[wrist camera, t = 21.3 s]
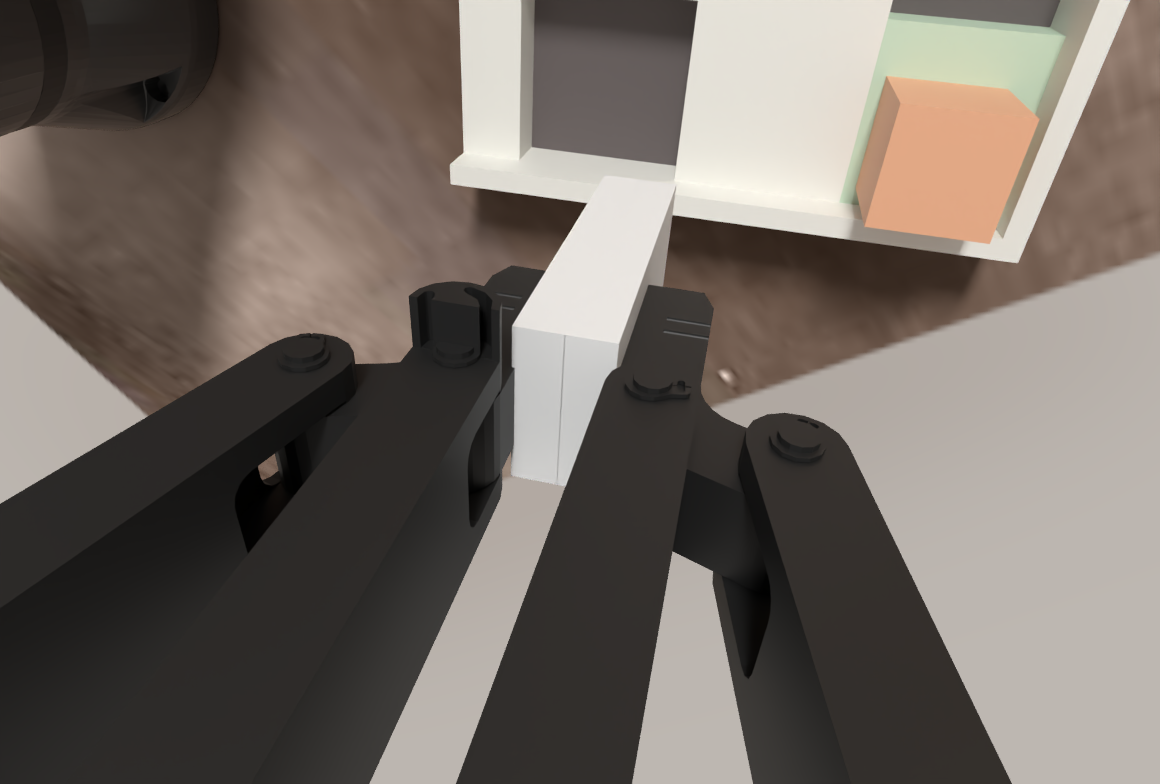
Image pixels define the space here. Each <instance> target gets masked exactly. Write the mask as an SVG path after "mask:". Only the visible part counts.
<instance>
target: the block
mask: <svg viewBox="0 0 1160 784" xmlns="http://www.w3.org/2000/svg"><path fill="white" fill-rule="evenodd" d="M1039 120H1040V119H1039V118H1038V117H1037V116H1036V115H1035V114H1034V113H1033V112H1032V111H1031V110H1030V109H1028V108H1027V107H1026V106H1025V105H1024V104H1023V103H1022V102H1021V101H1020V100H1019V99H1018V98H1017V97H1016V96H1015V95H1014V94H1013V93H1012V92H1010V91H1009V90H1008V89H1003V88H994V87H984V86H975V85H966V84H957V83H948V82H938V81H929V80H920V79H911V78H902V77H892V76H886V79H885V83H884V86H883V90H882V94H881V97H880V101H879V105H878V108H877V112H876V115H875V119H874V123H873V126H872V130H871V133H870V137H869V141H868V144H867V148H866V151H865V155H864V159H863V162H862V166H861V170H860V173H859V177H858V180H857V184H856V192H857V196H858V201H859V205H860V210H861V214H862V219H863V223H864V227H870V228H877V229H884V230H891V231H899V232H906V233H913V234H920V235H928V236H935V237H942V238H949V239H957V240H964V241H971V242H978V243H986V244H990V242H991V240H992V237H993V235H994V232H995V230H996V227H997V225H998V222H999V220H1000V217H1001V215H1002V212H1003V210H1004V207H1005V205H1006V202H1007V200H1008V197H1009V195H1010V192H1011V190H1012V187H1013V185H1014V182H1015V180H1016V177H1017V175H1018V172H1019V170H1020V167H1021V165H1022V162H1023V160H1024V157H1025V155H1026V152H1027V150H1028V147H1029V145H1030V142H1031V140H1032V137H1033V135H1034V132H1035V130H1036V127H1037V125H1038V122H1039Z"/></svg>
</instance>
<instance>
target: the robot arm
mask: <svg viewBox="0 0 1160 784" xmlns="http://www.w3.org/2000/svg"><path fill="white" fill-rule="evenodd" d="M217 43H218V12H217V3H216V0H0V136H3V135H6V134H8V133H11V132H14V131H17V130H20V129H24V128H27V127H30V126H47V127H63V128H78V129H93V130H109V131H120V130H130V129H136V128H140V127H144V126H147V125H150V124H152V123H155V122H158V121H160V120H163V119H165V118H168V117H170V116H173V115H175V114H177V113H179V112H180V111H182V110H183V109H185V108H186V107H187V106H189V105H190V104H191V103H192V102H193V101H194V100H195V99H196V97H197V96H198V95H199V94H200V92H201V91H202V89H203V88H204V86H205V84H206V83H207V80H208V78H209V76H210V74H211V71H212V68H213V65H214V61H215V57H216V51H217ZM676 185H677V184H669V183H662V182H654V181H647V180H639V179H632V178H624V177H617V176H609V175H605V176H604V177H603V179H602V181H601V182H600V184H599V186H598V187H597V189H596V190H595V192H594V194H593V195H592V197H591V199H590V200H589V202H588V203H587V205H586V207H585V208H584V210H583V212H582V213H581V215H580V216H579V218H578V220H577V221H576V223H575V225H574V226H573V228H572V229H571V231H570V233H569V234H568V236H567V237H566V239H565V241H564V242H563V244H562V246H561V247H560V249H559V250H558V252H557V254H556V255H555V257H554V259H553V260H552V262H551V263H550V265H549V267H548V268H547V270H546V271H544V270H537V269H531V268H524V267H518V266H510V267H508V268H506V269H504V270H502V271H501V272H499V273H497V274H495V275H493V276H492V277H491V278H490V279H489V281H488V282H487V283H486V285H485V286H481V285H477V284H473V283H468V282H444V283H435V284H432V285H429V286H426V287H423V288H420V289H418V290H417V291H415V292H414V293H412V294H411V295H409V305H410V317H411V329H412V342H413V347H412V348H411V350H410V351H409V352H408V353H407V355H406V356H405V357H404V358H403V360H402V361H401V362H399V363H387V364H355V359H354V352H353V350H352V348H351V347H350V345H349V343H347V342H345V341H343V340H342V339H340V338H338V337H334V336H329V335H324V334H316V333H313V334H311V333H307V334H299V335H297V336H292V337H287V338H284V339H281V340H279V341H277V342H274V343H272V344H270V345H268V346H266V347H265V348H263V349H261V350H260V351H258V352H256V353H255V354H253V355H251V356H249V357H248V358H246V359H244V360H243V361H241V362H239V363H238V364H236V365H234V366H233V367H231V368H229V369H227V370H226V371H224V372H222V373H221V374H219V375H217V376H216V377H214V378H212V379H211V380H209V381H207V382H205V383H204V384H202V385H200V386H199V387H197V388H195V389H194V390H192V391H190V392H189V393H187V394H185V395H183V396H182V397H180V398H178V399H177V400H175V401H173V402H172V403H170V404H168V405H167V406H165V407H163V408H162V409H160V410H158V411H156V412H155V413H153V414H151V415H150V416H148V417H146V418H145V419H143V420H141V421H140V422H138V423H136V424H135V425H133V426H131V427H130V428H128V429H126V430H124V431H123V432H121V433H119V434H118V435H116V436H115V437H112V438H111V439H109V440H107V441H106V442H104V443H102V444H101V445H99V446H97V447H96V448H94V449H92V450H91V451H89V452H87V453H85V454H84V455H82V456H80V457H79V458H77V459H75V460H74V461H72V462H70V463H69V464H67V465H65V466H64V467H62V468H60V469H59V470H57V471H55V472H53V473H52V474H50V475H48V476H47V477H45V478H43V479H41V480H40V481H38V482H36V483H35V484H33V485H31V486H30V487H28V488H26V489H25V490H23V491H21V492H19V493H18V494H16V495H14V496H13V497H11V498H9V499H8V500H6V501H4V502H3V503H1V504H0V784H369V783H370V781H371V779H372V777H373V774H374V772H375V770H376V767H377V765H378V764H379V761H380V759H381V757H382V755H383V752H384V750H385V748H386V746H387V744H388V742H389V740H390V737H391V735H392V733H393V731H394V729H395V726H396V724H397V722H398V720H399V718H400V715H401V713H402V711H403V709H404V707H405V705H406V702H407V700H408V698H409V696H410V694H411V692H412V689H413V687H414V685H415V683H416V681H417V679H418V676H419V674H420V672H421V670H422V668H423V665H424V663H425V661H426V659H427V656H428V655H429V652H430V650H431V648H432V646H433V644H434V641H435V639H436V637H437V635H438V633H439V631H440V628H441V626H442V624H443V622H444V620H445V617H446V615H447V613H448V611H449V609H450V607H451V604H452V602H453V600H454V598H455V596H456V594H457V591H458V589H459V587H460V585H461V583H462V580H463V578H464V576H465V574H466V572H467V569H468V567H469V565H470V563H471V561H472V559H473V556H474V554H475V552H476V550H477V548H478V546H479V543H480V541H481V539H482V537H483V535H484V532H485V530H486V528H487V526H488V523H489V522H490V519H491V517H492V515H493V513H494V511H495V509H496V506H497V504H498V502H499V500H500V497H501V491H502V469H503V466H504V464H505V462H506V460H507V458H508V456H509V454H510V452H511V476H515V477H520V478H525V479H530V480H536V481H540V482H546V483H551V484H556V485H561V486H566V487H565V490H564V493H563V495H562V498H561V500H560V503H559V506H558V509H557V511H556V514H555V517H554V519H553V522H552V525H551V528H550V531H549V533H548V536H547V538H546V541H545V544H544V547H543V549H542V552H541V555H540V557H539V560H538V563H537V565H536V568H535V571H534V574H533V576H532V579H531V582H530V584H529V587H528V590H527V593H526V595H525V598H524V601H523V603H522V606H521V609H520V612H519V614H518V617H517V620H516V622H515V625H514V628H513V631H512V634H511V636H510V639H509V641H508V644H507V647H506V650H505V652H504V655H503V658H502V660H501V663H500V666H499V669H498V671H497V674H496V677H495V679H494V682H493V685H492V688H491V690H490V693H489V696H488V698H487V701H486V704H485V706H484V709H483V712H482V715H481V717H480V720H479V723H478V725H477V728H476V731H475V734H474V737H473V739H472V742H471V745H470V747H469V750H468V753H467V755H466V758H465V761H464V763H463V766H462V769H461V772H460V774H459V777H458V780H457V783H456V784H632V779H633V774H634V768H635V763H636V757H637V751H638V745H639V739H640V733H641V728H642V722H643V716H644V710H645V704H646V699H647V693H648V688H649V682H650V676H651V671H652V665H653V659H654V653H655V648H656V642H657V636H658V631H659V625H660V619H661V613H662V607H663V602H664V596H665V590H666V584H667V579H668V573H669V567H670V562H671V556H672V551H673V552H675V553H677V554H679V555H681V556H683V557H686V558H688V559H689V560H691V561H693V562H695V563H698V564H700V565H702V566H704V567H706V568H708V569H710V570H712V571H713V587H714V592H715V597H716V602H717V607H718V612H719V617H720V622H721V627H722V632H723V636H724V642H725V647H726V652H727V656H728V662H729V666H730V671H731V676H732V681H733V686H734V691H735V696H736V701H737V706H738V711H739V716H740V721H741V726H742V731H743V736H744V741H745V746H746V751H747V755H748V760H749V765H750V770H751V775H752V780H753V784H1012V783H1011V781H1010V779H1009V777H1008V775H1007V773H1006V771H1005V769H1004V767H1003V764H1002V762H1001V760H1000V759H999V756H998V754H997V752H996V750H995V748H994V746H993V744H992V742H991V740H990V738H989V736H988V734H987V731H986V730H985V727H984V725H983V724H982V721H981V719H980V717H979V715H978V713H977V711H976V709H975V707H974V705H973V702H972V700H971V698H970V696H969V694H968V692H967V690H966V688H965V686H964V684H963V682H962V680H961V678H960V676H959V673H958V671H957V669H956V667H955V665H954V663H953V661H952V659H951V657H950V655H949V653H948V651H947V649H946V647H945V645H944V643H943V640H942V638H941V636H940V634H939V632H938V630H937V628H936V626H935V624H934V622H933V620H932V618H931V616H930V614H929V611H928V609H927V607H926V605H925V603H924V601H923V599H922V597H921V595H920V593H919V591H918V589H917V587H916V585H915V582H914V580H913V578H912V576H911V574H910V572H909V570H908V568H907V566H906V564H905V562H904V560H903V558H902V556H901V553H900V551H899V549H898V547H897V545H896V543H895V541H894V539H893V537H892V535H891V533H890V531H889V529H888V527H887V525H886V522H885V521H884V519H883V516H882V514H881V512H880V510H879V508H878V506H877V504H876V502H875V500H874V498H873V496H872V494H871V491H870V490H869V487H868V485H867V483H866V481H865V479H864V477H863V475H862V473H861V471H860V469H859V467H858V465H857V463H856V460H855V458H854V456H853V454H852V452H851V450H850V448H849V446H848V445H847V443H846V442H845V441H844V440H843V438H842V437H841V436H840V434H839V433H837V432H836V431H834V430H833V429H831V428H830V427H828V426H827V425H825V424H824V423H821V422H819V421H817V420H814V419H811V418H809V417H806V416H801V415H795V414H788V413H779V414H767V415H765V416H763V417H760V418H758V419H756V420H753V422H752V423H751V424H750V425H749V427H748V428H745V427H743V426H740V425H738V424H736V423H734V422H731V421H729V420H727V419H725V418H723V417H721V416H720V415H719V414H718V413H716V412H715V411H713V410H712V409H711V408H710V406H709V405H708V404H707V403H706V402H705V400H704V398H703V396H702V394H701V381H702V375H703V369H704V363H705V357H706V351H707V345H708V339H709V334H710V328H711V322H712V316H713V310H714V308H713V307H712V305H711V303H710V302H709V300H708V298H707V297H706V295H705V294H704V293H700V292H694V291H687V290H681V289H674V288H668V287H663V281H664V274H665V267H666V259H667V252H668V244H669V237H670V229H671V222H672V215H673V207H674V200H675V192H676ZM273 454H275V456H276V461H277V465H278V470H279V471H278V472H276V473H275V474H274V475H272V476H271V477H269V478H267V479H265V480H262V479H261V477H260V474H259V470H258V465H260V464H261V463H262V462H264V461H265V460H266V459H268V458H269V457H271V456H272V455H273Z"/></svg>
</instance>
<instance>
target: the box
mask: <svg viewBox="0 0 1160 784" xmlns="http://www.w3.org/2000/svg"><path fill="white" fill-rule="evenodd" d="M1129 2H1130V0H459V11H460V44H461V76H462V109H463V142H464V153H463V154H462V155H461V156H459V157H458V158H457V159H456V160H455V161H453V162H452V163H451V164H450V178H451V184H454V185H461V186H468V187H475V188H482V189H490V190H497V191H504V192H511V193H518V194H525V195H533V196H540V197H547V198H554V199H561V200H568V201H576V202H583V203H588V202H589V200H590V199H591V197H592V195H593V194H594V192H595V190H596V189H597V187H598V186H599V184H600V182H601V181H602V179H603V177H604V176H605V175H609V176H617V177H624V178H632V179H639V180H647V181H654V182H662V183H669V184H677V185H676V192H675V200H674V207H673V215H676V216H683V217H690V218H698V219H705V220H712V221H719V222H726V223H733V224H741V225H748V226H755V227H762V228H769V229H776V230H784V231H791V232H798V233H805V234H812V235H820V236H827V237H834V238H841V239H848V240H855V241H863V242H870V243H877V244H884V245H891V246H898V247H906V248H913V249H920V250H927V251H934V252H941V253H949V254H956V255H963V256H970V257H977V258H985V259H992V260H999V261H1006V262H1013V263H1018V261H1019V259H1020V257H1021V254H1022V252H1023V250H1024V247H1025V245H1026V243H1027V240H1028V238H1029V236H1030V233H1031V231H1032V229H1033V226H1034V224H1035V222H1036V219H1037V217H1038V215H1039V212H1040V210H1041V208H1042V205H1043V203H1044V200H1045V198H1046V196H1047V193H1048V191H1049V189H1050V186H1051V184H1052V182H1053V179H1054V177H1055V175H1056V172H1057V170H1058V168H1059V165H1060V163H1061V161H1062V158H1063V156H1064V154H1065V151H1066V149H1067V147H1068V144H1069V142H1070V140H1071V137H1072V135H1073V133H1074V130H1075V128H1076V126H1077V123H1078V121H1079V119H1080V116H1081V114H1082V112H1083V109H1084V107H1085V105H1086V102H1087V100H1088V98H1089V95H1090V93H1091V90H1092V88H1093V86H1094V83H1095V81H1096V79H1097V76H1098V74H1099V72H1100V69H1101V67H1102V65H1103V62H1104V60H1105V58H1106V55H1107V53H1108V51H1109V48H1110V46H1111V44H1112V41H1113V39H1114V37H1115V34H1116V32H1117V30H1118V27H1119V25H1120V23H1121V20H1122V18H1123V16H1124V13H1125V11H1126V9H1127V6H1128V4H1129ZM886 76H892V77H902V78H911V79H920V80H929V81H938V82H948V83H957V84H966V85H975V86H984V87H994V88H1003V89H1008V90H1009V91H1010V92H1012V93H1013V94H1014V95H1015V96H1016V97H1017V98H1018V99H1019V100H1020V101H1021V102H1022V103H1023V104H1024V105H1025V106H1026V107H1027V108H1028V109H1030V110H1031V111H1032V112H1033V113H1034V114H1035V115H1036V116H1037V117H1038V118H1039V119H1040V120H1039V122H1038V125H1037V127H1036V130H1035V132H1034V135H1033V137H1032V140H1031V142H1030V145H1029V147H1028V150H1027V152H1026V155H1025V157H1024V160H1023V162H1022V165H1021V167H1020V170H1019V172H1018V175H1017V177H1016V180H1015V182H1014V185H1013V187H1012V190H1011V192H1010V195H1009V197H1008V200H1007V202H1006V205H1005V207H1004V210H1003V212H1002V215H1001V217H1000V220H999V222H998V225H997V227H996V230H995V232H994V235H993V237H992V240H991V242H990V244H986V243H978V242H971V241H964V240H957V239H949V238H942V237H935V236H928V235H920V234H913V233H906V232H899V231H891V230H884V229H877V228H870V227H864V223H863V219H862V214H861V210H860V205H859V201H858V196H857V192H856V184H857V180H858V177H859V173H860V170H861V166H862V162H863V159H864V155H865V151H866V148H867V144H868V141H869V137H870V133H871V130H872V126H873V123H874V119H875V115H876V112H877V108H878V105H879V101H880V97H881V94H882V90H883V86H884V83H885V79H886Z"/></svg>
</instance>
